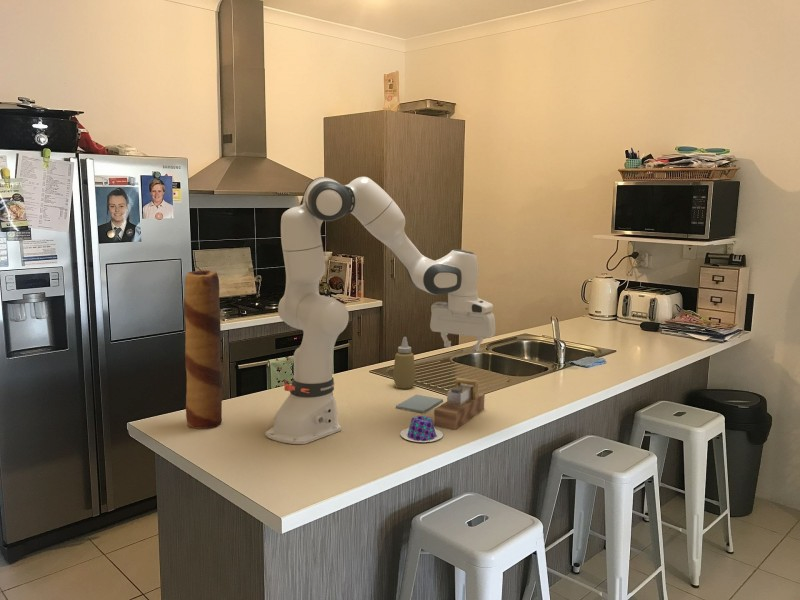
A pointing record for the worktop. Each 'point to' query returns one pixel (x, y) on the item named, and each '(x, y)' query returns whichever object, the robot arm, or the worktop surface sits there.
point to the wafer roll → (203, 349)
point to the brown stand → (459, 408)
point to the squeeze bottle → (404, 366)
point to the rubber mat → (419, 403)
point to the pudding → (421, 430)
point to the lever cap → (460, 395)
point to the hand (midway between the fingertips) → (461, 348)
